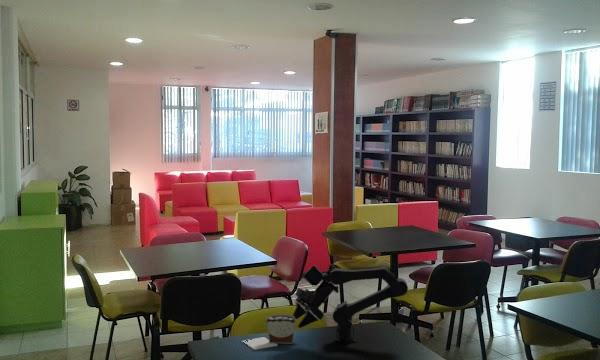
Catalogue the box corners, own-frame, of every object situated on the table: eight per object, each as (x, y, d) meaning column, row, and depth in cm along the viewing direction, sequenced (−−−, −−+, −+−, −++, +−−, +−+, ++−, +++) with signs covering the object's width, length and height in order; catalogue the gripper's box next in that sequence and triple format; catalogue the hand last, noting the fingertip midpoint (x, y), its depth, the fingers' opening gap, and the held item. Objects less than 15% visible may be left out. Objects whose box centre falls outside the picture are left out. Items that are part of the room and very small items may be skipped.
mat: (263, 337, 220) (263, 336, 220) (277, 345, 210) (277, 344, 210) (241, 341, 215) (241, 340, 215) (254, 350, 205) (254, 349, 205)
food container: (298, 338, 217) (298, 314, 217) (296, 343, 211) (296, 318, 211) (268, 338, 218) (267, 313, 218) (265, 343, 212) (265, 317, 212)
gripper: (299, 276, 222) (274, 305, 219) (316, 285, 205) (288, 316, 201) (317, 294, 225) (292, 323, 222) (335, 304, 208) (308, 335, 204)
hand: (294, 324), depth 212 cm, fingers open, 9 cm apart
